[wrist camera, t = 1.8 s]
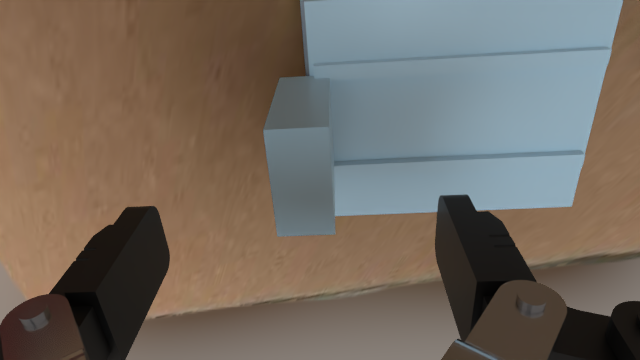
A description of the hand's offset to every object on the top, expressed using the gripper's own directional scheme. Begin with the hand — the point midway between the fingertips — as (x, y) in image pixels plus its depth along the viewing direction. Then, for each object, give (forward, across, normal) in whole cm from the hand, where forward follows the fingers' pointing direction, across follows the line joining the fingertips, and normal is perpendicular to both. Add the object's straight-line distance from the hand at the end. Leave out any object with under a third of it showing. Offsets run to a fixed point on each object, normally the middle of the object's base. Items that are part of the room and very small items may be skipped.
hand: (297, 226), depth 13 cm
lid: (+8, -6, 0) cm, 10 cm away
